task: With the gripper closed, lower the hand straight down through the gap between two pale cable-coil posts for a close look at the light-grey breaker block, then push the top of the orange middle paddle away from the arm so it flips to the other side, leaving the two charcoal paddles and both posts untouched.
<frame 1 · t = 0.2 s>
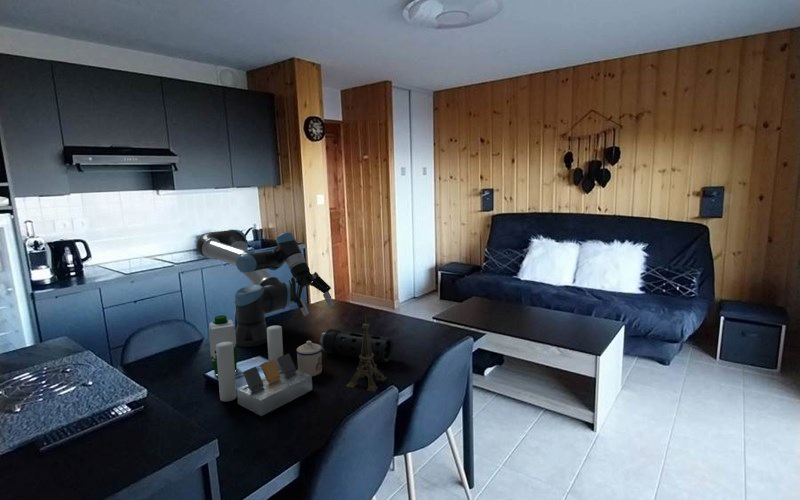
hand: (319, 310, 180), 16 cm above the table, tool tilted 35°, fingers open, 13 cm apart
post far: (276, 376, 155), on the table
muzzle brake: (356, 358, 170), on the table
paddle right: (287, 365, 145), point 8 cm above the table, hinge at -35.0°
milk carton: (225, 371, 160), on the table
post near: (228, 397, 140), on the table
breaker block: (276, 396, 140), on the table
teacup with lid: (310, 370, 160), on the table
eiffel tower: (366, 382, 150), on the table
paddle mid: (270, 371, 140), point 8 cm above the table, hinge at -35.0°
paddle left: (253, 379, 135), point 8 cm above the table, hinge at -35.0°
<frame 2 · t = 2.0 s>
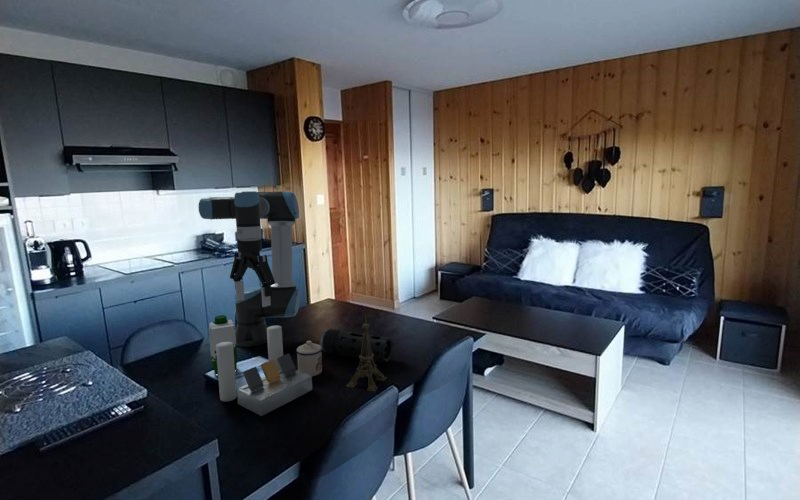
hand: (253, 303, 144), 29 cm above the table, tool pointing down, fingers open, 13 cm apart
nothing on the table moved.
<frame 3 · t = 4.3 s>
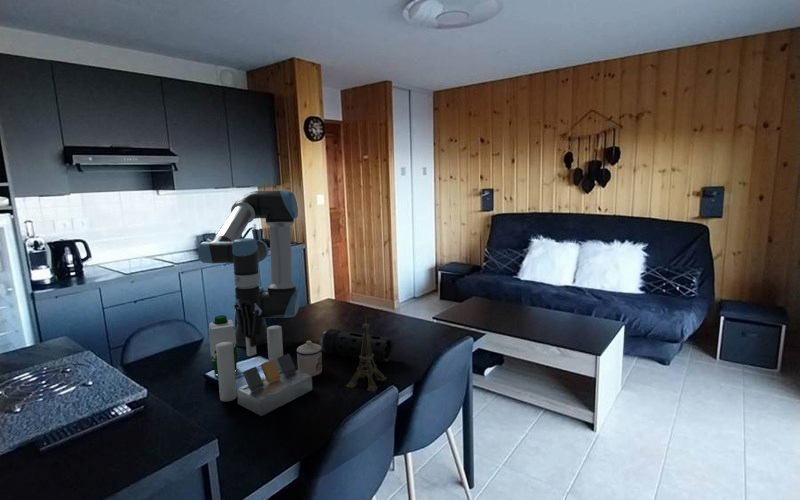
hand: (251, 354, 145), 11 cm above the table, tool pointing down, fingers closed
nothing on the table moved.
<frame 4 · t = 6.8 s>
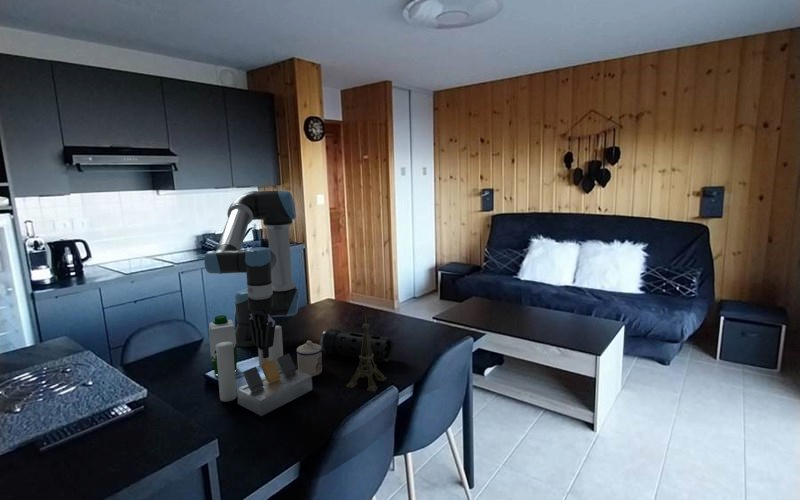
hand: (264, 366, 142), 9 cm above the table, tool pointing down, fingers closed
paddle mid: (270, 371, 140), point 8 cm above the table, hinge at -35.0°, touching gripper
everything else where it was.
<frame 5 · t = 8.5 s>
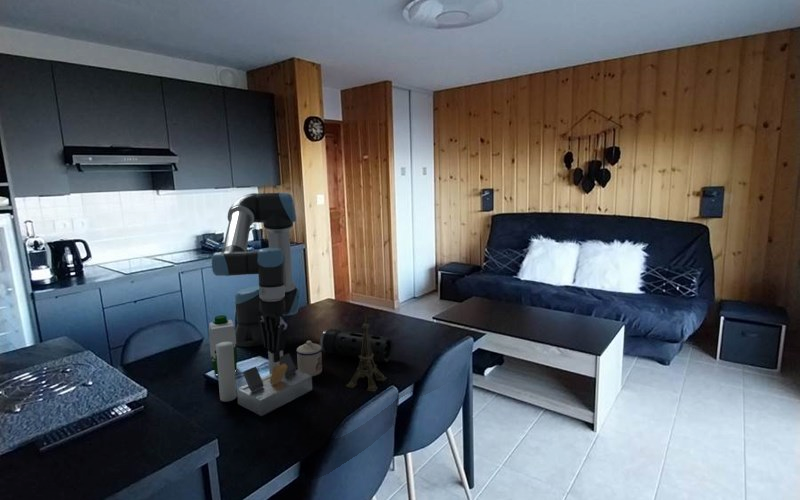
hand: (274, 370, 138), 10 cm above the table, tool pointing down, fingers closed
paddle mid: (278, 374, 138), point 8 cm above the table, hinge at 28.5°, touching gripper
everything else where it was.
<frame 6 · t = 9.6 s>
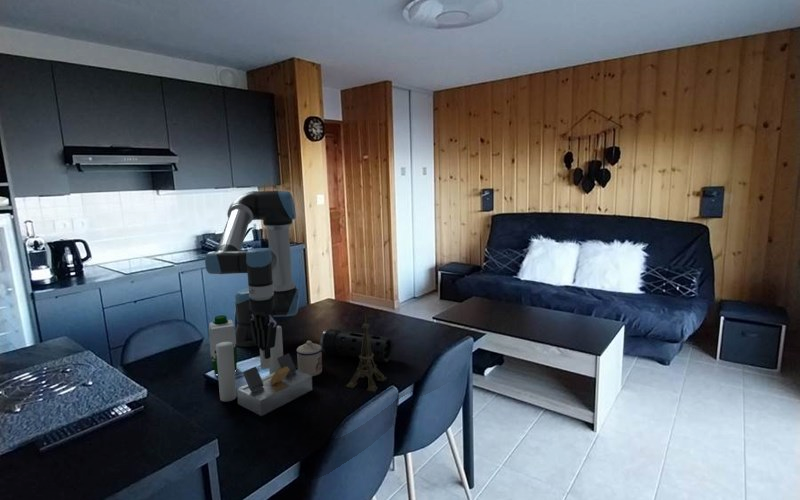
hand: (265, 366, 142), 9 cm above the table, tool pointing down, fingers closed
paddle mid: (279, 376, 138), point 8 cm above the table, hinge at 40.0°
everything else where it was.
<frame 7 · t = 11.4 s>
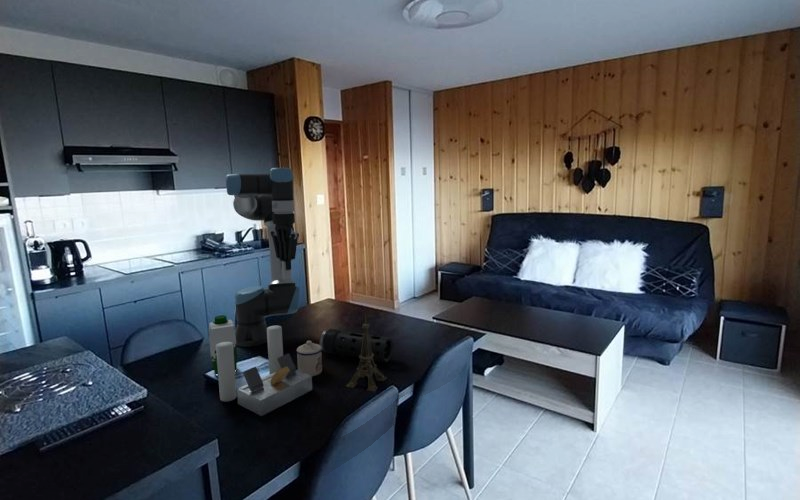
hand: (286, 278, 156), 34 cm above the table, tool pointing down, fingers closed
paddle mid: (279, 376, 138), point 8 cm above the table, hinge at 40.6°
everything else where it was.
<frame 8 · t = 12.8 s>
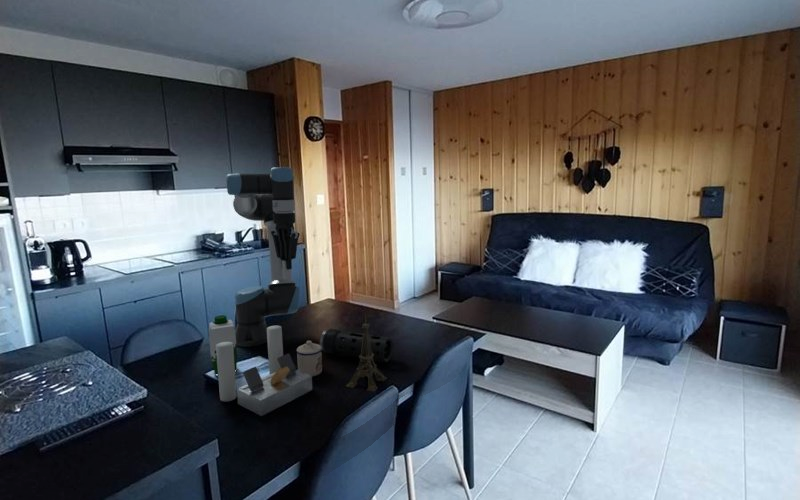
hand: (287, 277, 156), 34 cm above the table, tool pointing down, fingers closed
nothing on the table moved.
at the end: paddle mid at +41° (first picture: -35°); paddle left at -35° (first picture: -35°); post near moved 0.0 cm from its start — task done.
